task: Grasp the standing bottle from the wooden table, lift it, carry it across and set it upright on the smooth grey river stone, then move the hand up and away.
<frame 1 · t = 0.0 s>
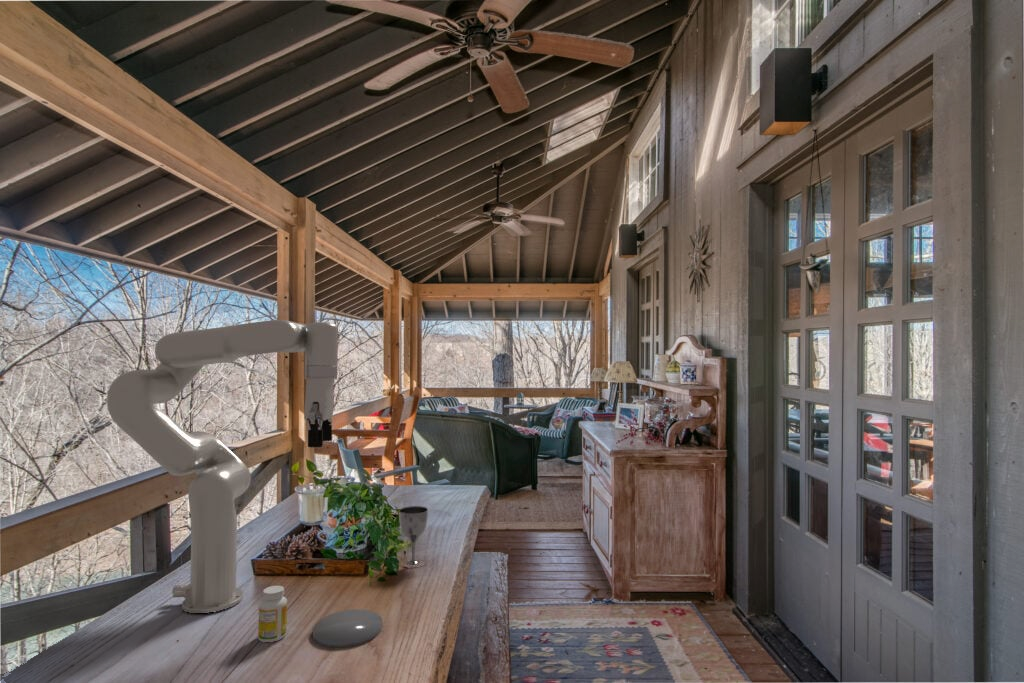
hand: (320, 443, 132), 37 cm above the table, tool pointing down, fingers open, 9 cm apart
wine glass: (413, 564, 153), on the table
smooth grey river stone: (348, 630, 115), on the table
supplement bottle: (272, 637, 112), on the table
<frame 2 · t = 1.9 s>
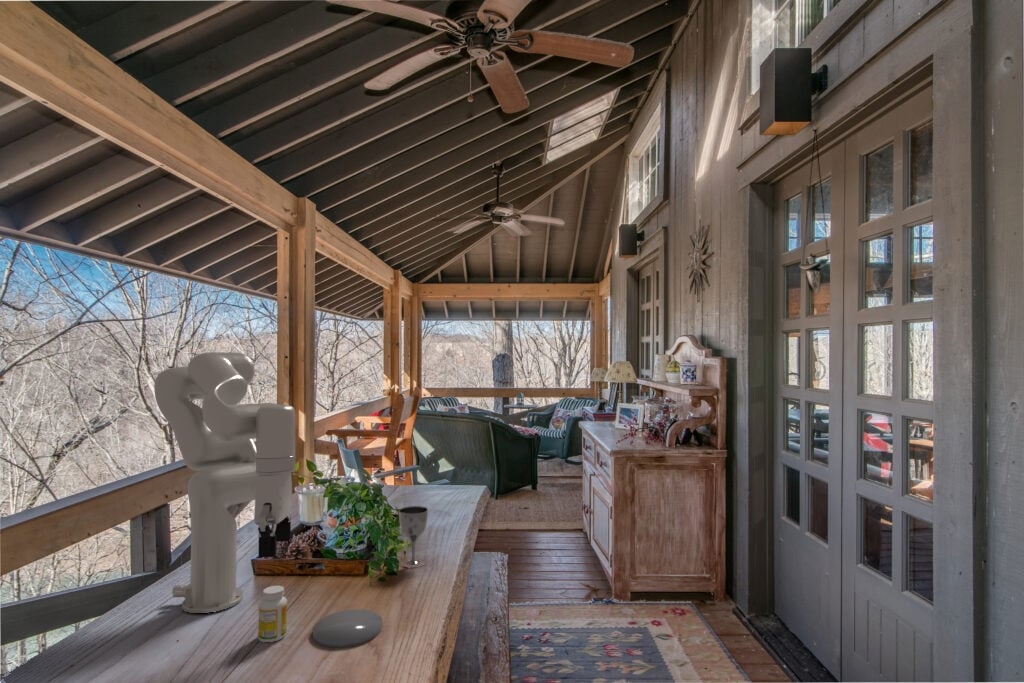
hand: (275, 548, 113), 18 cm above the table, tool pointing down, fingers open, 9 cm apart
nothing on the table moved.
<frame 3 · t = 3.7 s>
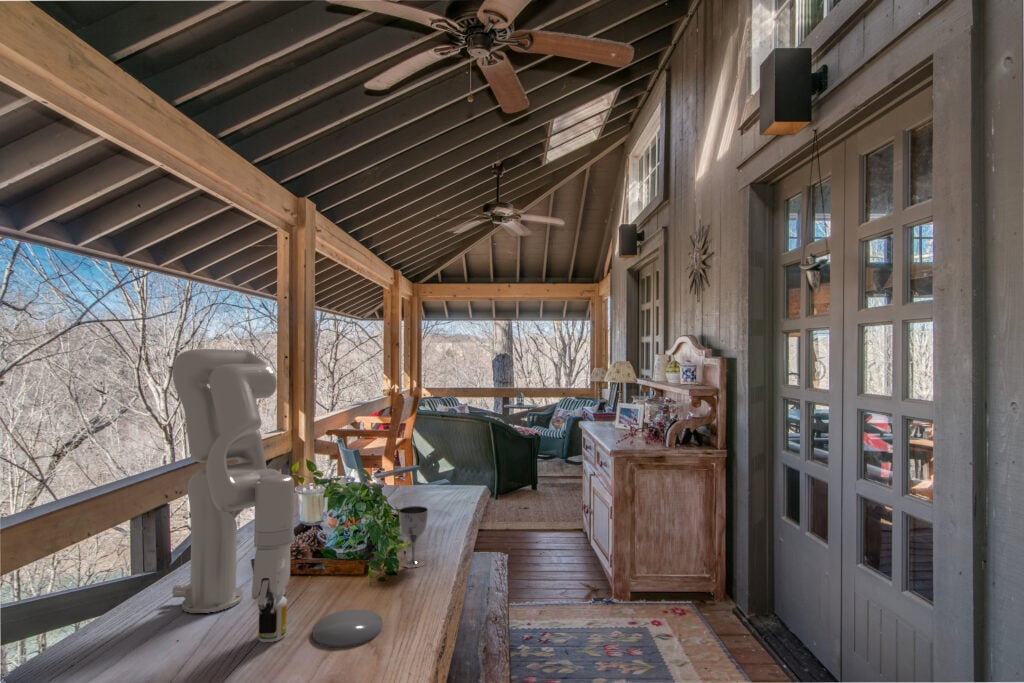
hand: (272, 624, 112), 3 cm above the table, tool pointing down, fingers closed on supplement bottle, 5 cm apart
supplement bottle: (272, 637, 112), on the table, touching gripper
everything else where it was.
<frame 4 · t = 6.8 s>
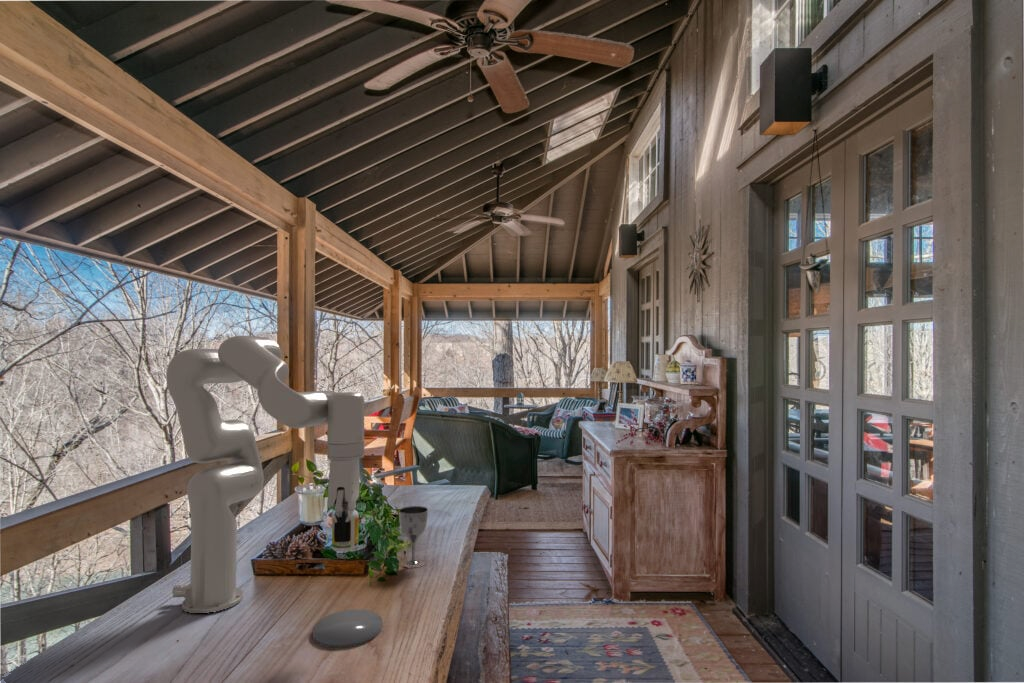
hand: (345, 535, 115), 20 cm above the table, tool pointing down, fingers closed on supplement bottle, 5 cm apart
supplement bottle: (345, 548, 115), point 17 cm above the table, touching gripper
everything else where it was.
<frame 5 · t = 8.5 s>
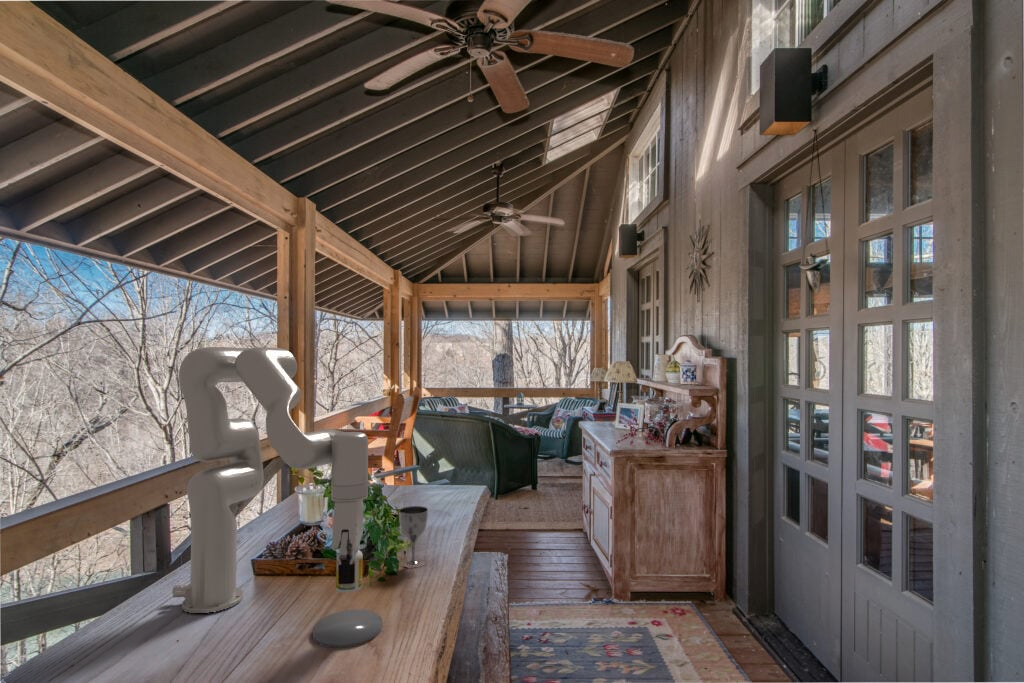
hand: (349, 576, 115), 11 cm above the table, tool pointing down, fingers closed on supplement bottle, 5 cm apart
supplement bottle: (349, 589, 115), point 8 cm above the table, touching gripper
everything else where it was.
when the fingers open (5 cm above the table, at t = 10.0 s): supplement bottle drops 1 cm, resting on smooth grey river stone.
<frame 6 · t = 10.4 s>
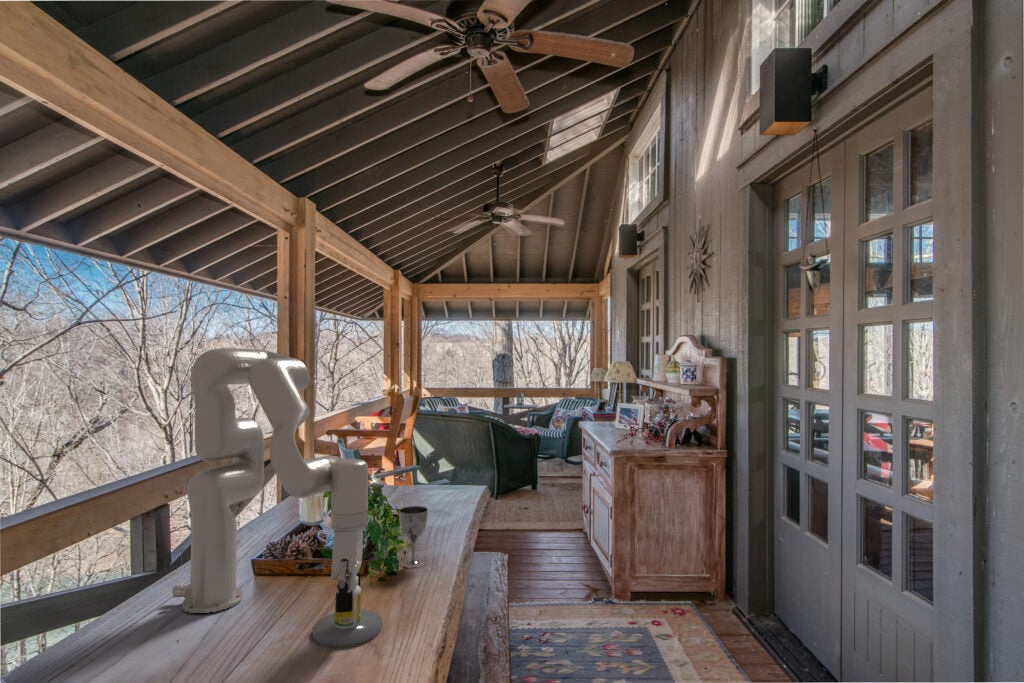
hand: (348, 601, 115), 6 cm above the table, tool pointing down, fingers open, 9 cm apart
supplement bottle: (347, 624, 115), point 1 cm above the table, touching smooth grey river stone
everything else where it was.
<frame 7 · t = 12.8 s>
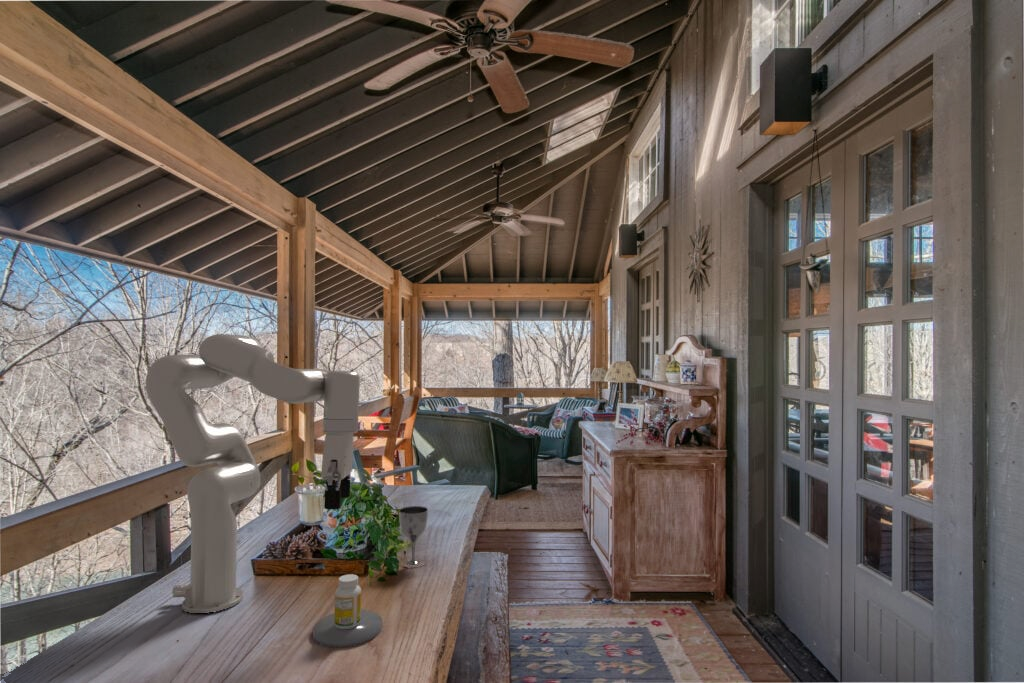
hand: (337, 502, 122), 25 cm above the table, tool pointing down, fingers open, 9 cm apart
nothing on the table moved.
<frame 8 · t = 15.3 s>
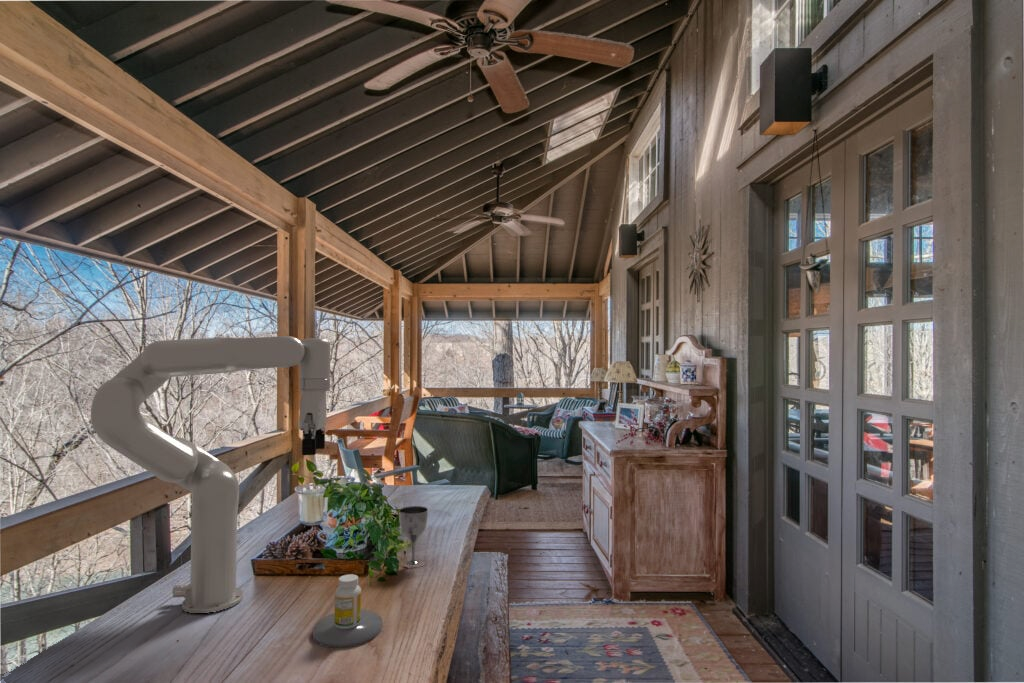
hand: (313, 451, 141), 33 cm above the table, tool pointing down, fingers open, 9 cm apart
nothing on the table moved.
at the end: supplement bottle inside the target area on the smooth grey river stone (0.3 cm from its centre), point 1.0 cm above the smooth grey river stone's base; supplement bottle tilted 0°; the gripper is holding nothing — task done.
